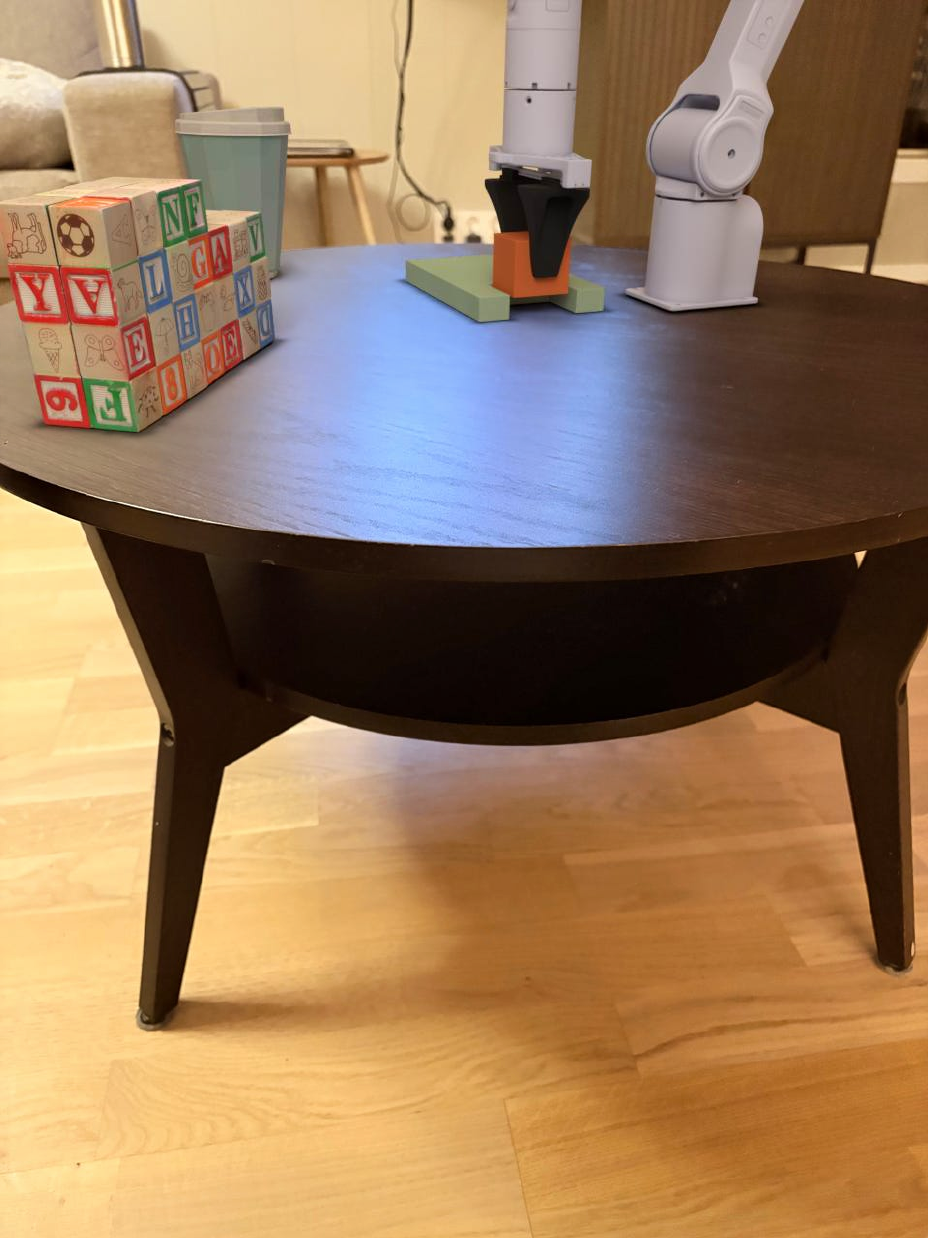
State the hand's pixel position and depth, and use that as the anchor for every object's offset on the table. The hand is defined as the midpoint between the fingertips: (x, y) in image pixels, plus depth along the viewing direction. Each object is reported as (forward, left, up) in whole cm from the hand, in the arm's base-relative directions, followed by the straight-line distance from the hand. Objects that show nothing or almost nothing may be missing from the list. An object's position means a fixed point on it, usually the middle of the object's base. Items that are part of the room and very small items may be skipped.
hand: (531, 271), depth 80 cm
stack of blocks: (+32, +10, -3) cm, 33 cm away
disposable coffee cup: (+20, -23, -3) cm, 31 cm away
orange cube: (0, 0, -2) cm, 2 cm away
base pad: (0, -6, -3) cm, 7 cm away
